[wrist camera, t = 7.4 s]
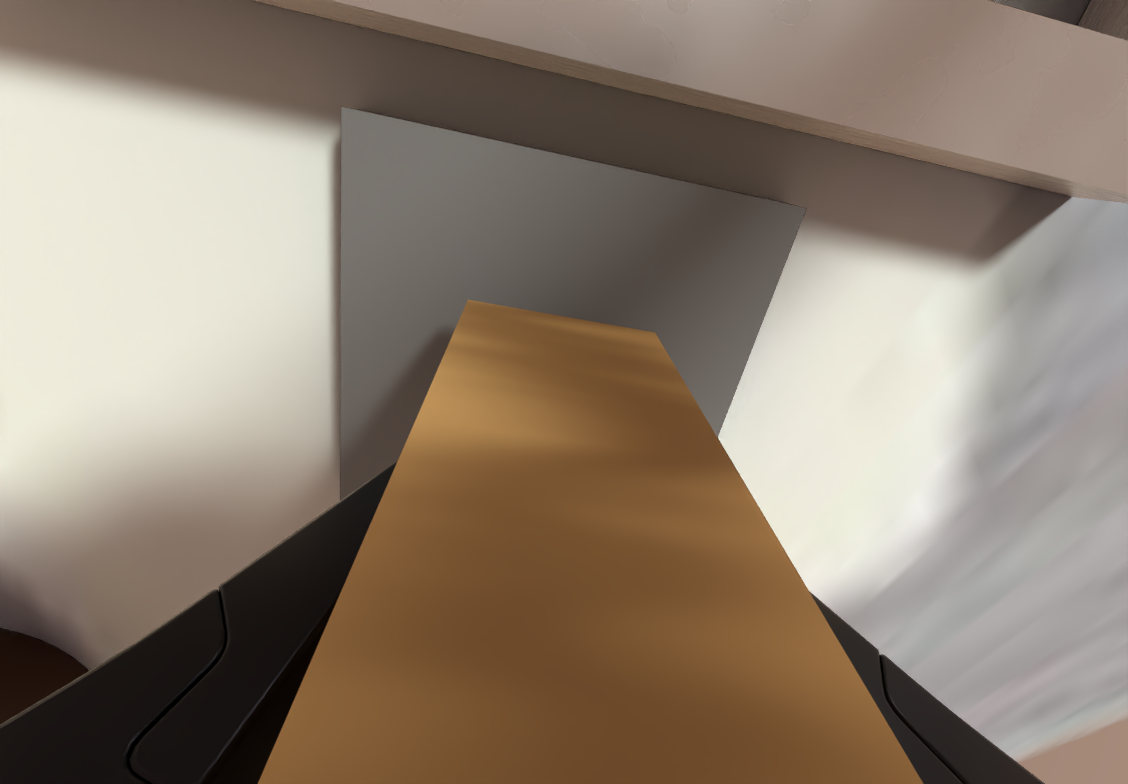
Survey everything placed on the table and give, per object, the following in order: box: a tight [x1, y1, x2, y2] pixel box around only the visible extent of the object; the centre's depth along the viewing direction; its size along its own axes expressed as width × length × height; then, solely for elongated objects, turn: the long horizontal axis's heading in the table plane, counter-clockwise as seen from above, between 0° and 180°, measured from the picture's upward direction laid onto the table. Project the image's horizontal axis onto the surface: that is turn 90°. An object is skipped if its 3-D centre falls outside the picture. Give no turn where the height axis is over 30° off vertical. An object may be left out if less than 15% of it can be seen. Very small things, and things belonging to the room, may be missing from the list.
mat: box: [340, 107, 807, 501], centre depth 13 cm, size 10×10×1 cm
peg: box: [258, 300, 923, 784], centre depth 7 cm, size 4×4×10 cm
